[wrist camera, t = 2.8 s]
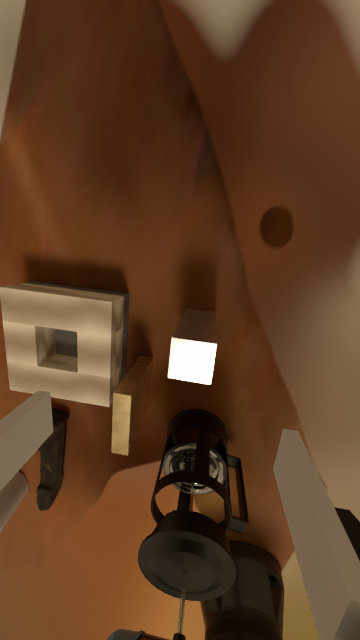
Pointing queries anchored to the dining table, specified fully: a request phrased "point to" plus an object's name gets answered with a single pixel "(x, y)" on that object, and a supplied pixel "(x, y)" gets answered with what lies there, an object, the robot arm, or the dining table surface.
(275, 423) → the dining table surface
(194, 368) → the square bit
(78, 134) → the dining table surface
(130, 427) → the beige rectangular slab
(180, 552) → the french press
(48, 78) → the dining table surface
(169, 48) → the dining table surface
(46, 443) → the hand tool
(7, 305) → the bore block
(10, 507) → the coffee cup
